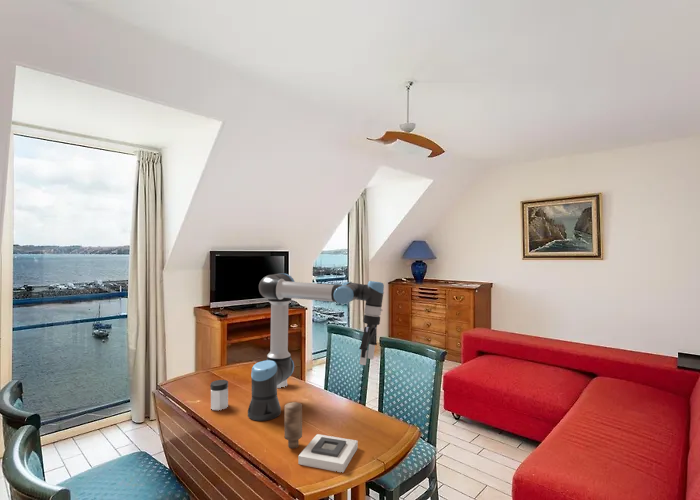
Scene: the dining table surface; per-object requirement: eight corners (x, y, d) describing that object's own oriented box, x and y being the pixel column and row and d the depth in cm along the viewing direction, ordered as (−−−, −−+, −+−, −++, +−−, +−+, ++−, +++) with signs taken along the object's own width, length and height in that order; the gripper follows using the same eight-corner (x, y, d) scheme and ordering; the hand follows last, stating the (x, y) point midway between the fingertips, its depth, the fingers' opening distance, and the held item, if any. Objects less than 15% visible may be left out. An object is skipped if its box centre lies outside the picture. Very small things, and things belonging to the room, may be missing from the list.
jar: (223, 402, 193) (223, 378, 193) (232, 406, 188) (232, 381, 188) (206, 407, 186) (206, 383, 186) (215, 412, 181) (215, 387, 181)
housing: (298, 464, 137) (298, 453, 137) (317, 441, 154) (317, 431, 154) (343, 472, 132) (343, 461, 132) (357, 448, 148) (357, 438, 148)
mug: (271, 390, 208) (271, 368, 208) (264, 386, 215) (264, 365, 215) (290, 385, 216) (290, 364, 216) (282, 381, 222) (282, 361, 222)
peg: (281, 448, 148) (281, 408, 148) (289, 440, 155) (289, 401, 154) (297, 451, 146) (297, 410, 146) (305, 443, 152) (304, 403, 152)
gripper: (373, 319, 163) (367, 369, 162) (386, 314, 186) (380, 357, 186) (356, 316, 165) (350, 365, 164) (371, 311, 189) (365, 354, 188)
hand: (366, 361), depth 175 cm, fingers open, 13 cm apart
